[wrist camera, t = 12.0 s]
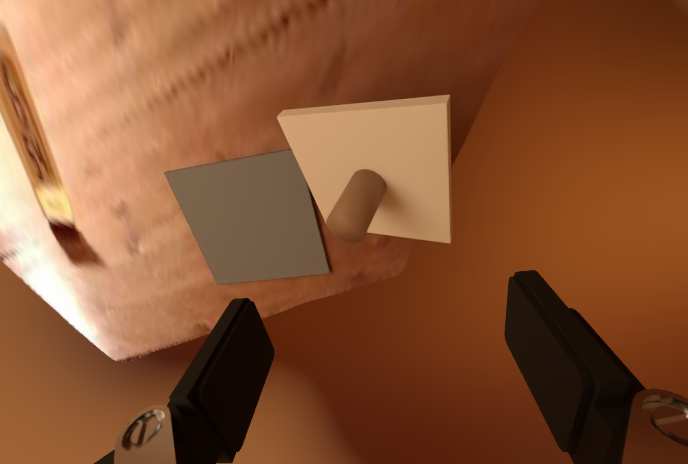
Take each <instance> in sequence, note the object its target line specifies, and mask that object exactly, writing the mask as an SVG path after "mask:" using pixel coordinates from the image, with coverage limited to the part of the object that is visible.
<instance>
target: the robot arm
mask: <svg viewBox="0 0 688 464" xmlns="http://www.w3.org/2000/svg"><path fill="white" fill-rule="evenodd" d="M505 340H506V343H507V345H508V347H509V349H510V351H511V353H512V355H513V357H514V359H515V361H516V363H517V365H518V367H519V369H520V371H521V373H522V375H523V377H524V379H525V381H526V383H527V385H528V387H529V389H530V391H531V393H532V395H533V397H534V399H535V400H536V403H537V405H538V406H539V409H540V411H541V412H542V415H543V417H544V419H545V420H546V423H547V424H548V426H549V428H550V430H551V432H552V434H553V436H554V438H555V440H556V442H557V444H558V446H559V448H560V449H561V450H562V451H563V452H568V453H569V455H570V457H571V459H572V461H573V463H574V464H688V398H686V397H684V396H682V395H679V394H676V393H673V392H669V391H666V390H659V389H645V387H643V385H642V384H641V383H640V382H639V381H638V379H637V378H636V377H635V376H634V375H633V374H632V373H631V372H630V370H629V369H628V368H627V367H626V366H625V365H624V364H623V362H622V361H621V360H620V359H619V358H618V357H617V356H616V355H615V353H614V352H613V351H612V350H611V349H610V348H609V347H608V345H607V344H606V343H605V342H604V341H603V340H602V339H601V337H600V336H599V335H598V334H597V333H596V332H595V331H594V330H593V328H592V327H591V326H590V325H589V324H588V323H587V322H586V320H585V319H584V318H583V317H582V316H581V315H580V314H579V313H578V312H577V311H576V310H574V309H572V308H568V307H567V306H566V305H565V304H564V302H563V301H562V300H561V299H560V298H559V297H558V296H557V294H556V293H555V292H554V291H553V290H552V288H551V287H550V286H549V285H548V284H547V283H546V281H545V280H544V279H543V278H542V277H541V276H540V274H539V273H538V272H537V271H535V270H530V271H520V272H515V274H514V276H513V277H510V278H509V284H508V296H507V310H506V322H505ZM273 358H274V348H273V345H272V343H271V341H270V338H269V336H268V334H267V331H266V329H265V327H264V324H263V322H262V320H261V317H260V315H259V313H258V310H257V308H256V306H255V304H254V302H253V301H250V299H248V298H242V299H233V300H232V301H231V302H230V303H229V305H228V307H227V308H226V310H225V311H224V313H223V314H222V316H221V317H220V319H219V321H218V322H217V324H216V325H215V327H214V328H213V330H212V331H211V333H210V335H209V336H208V338H207V339H206V341H205V342H204V344H203V345H202V347H201V349H200V350H199V352H198V353H197V355H196V356H195V358H194V359H193V361H192V363H191V364H190V366H189V367H188V369H187V370H186V372H185V373H184V375H183V377H182V378H181V380H180V381H179V383H178V385H177V386H176V387H175V389H174V391H173V392H172V394H171V395H170V397H169V399H170V402H169V403H168V405H167V406H165V405H159V404H158V405H154V406H151V407H149V408H147V409H145V410H143V411H141V412H140V413H139V414H137V415H136V416H134V417H133V418H132V420H130V421H129V422H128V423H127V425H126V426H125V427H124V428H123V430H122V431H121V433H120V435H119V436H118V438H117V441H116V445H115V450H113V451H112V452H110V453H109V454H107V455H106V456H104V457H103V458H101V459H100V460H99V461H97V462H96V463H94V464H216V463H232V462H233V460H234V457H235V454H236V452H238V451H240V449H241V447H242V445H243V442H244V440H245V437H246V434H247V431H248V428H249V426H250V423H251V420H252V417H253V414H254V412H255V408H256V406H257V403H258V401H259V397H260V395H261V392H262V389H263V386H264V384H265V381H266V378H267V375H268V373H269V370H270V367H271V364H272V361H273Z"/></svg>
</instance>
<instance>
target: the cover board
mask: <svg viewBox="0 0 688 464" xmlns="http://www.w3.org/2000/svg"><path fill="white" fill-rule="evenodd" d="M277 119H278V121H279V123H280V125H281V127H282V130H283V132H284V134H285V136H286V138H287V140H288V142H289V145H290V147H291V149H292V151H293V153H294V155H295V158H296V160H297V162H298V164H299V166H300V168H301V170H302V173H303V175H304V177H305V179H306V181H307V183H308V186H309V188H310V190H311V192H312V194H313V196H314V199H315V201H316V203H317V205H318V207H319V209H320V211H321V214H322V216H323V218H324V220H325V222H326V224H327V227H328V229H329V230H330V231H331V232H332V233H333V234H334V235H335V236H337V237H338V238H340V239H342V240H344V241H348V242H359V241H361V240H363V238H364V236H365V234H366V232H369V233H376V234H384V235H391V236H399V237H406V238H414V239H422V240H429V241H437V242H444V243H451V238H452V184H451V183H452V182H451V126H450V95H442V96H431V97H421V98H410V99H399V100H388V101H378V102H367V103H356V104H346V105H335V106H324V107H313V108H303V109H292V110H283V111H282V112H281V113H280V114H279V115H278V116H277Z"/></svg>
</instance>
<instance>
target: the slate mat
mask: <svg viewBox="0 0 688 464" xmlns="http://www.w3.org/2000/svg"><path fill="white" fill-rule="evenodd" d="M164 174H165V176H166V178H167V180H168V182H169V184H170V187H171V189H172V191H173V193H174V195H175V197H176V199H177V201H178V203H179V205H180V207H181V210H182V212H183V214H184V216H185V218H186V220H187V222H188V224H189V226H190V228H191V231H192V233H193V235H194V237H195V239H196V241H197V243H198V245H199V247H200V249H201V251H202V254H203V256H204V258H205V260H206V262H207V264H208V266H209V268H210V270H211V272H212V274H213V277H214V279H215V281H216V283H217V285H222V284H231V283H241V282H251V281H260V280H270V279H279V278H289V277H299V276H308V275H318V274H327V273H330V268H329V264H328V261H327V257H326V253H325V249H324V245H323V241H322V237H321V233H320V229H319V225H318V221H317V217H316V213H315V209H314V206H313V202H312V198H311V194H310V190H309V186H308V183H307V181H306V179H305V177H304V175H303V173H302V170H301V168H300V166H299V164H298V162H297V160H296V158H295V155H294V153H293V151H292V149H289V150H283V151H278V152H272V153H267V154H261V155H256V156H250V157H245V158H239V159H234V160H228V161H223V162H217V163H212V164H206V165H201V166H195V167H190V168H184V169H179V170H174V171H168V172H165V173H164Z"/></svg>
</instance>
